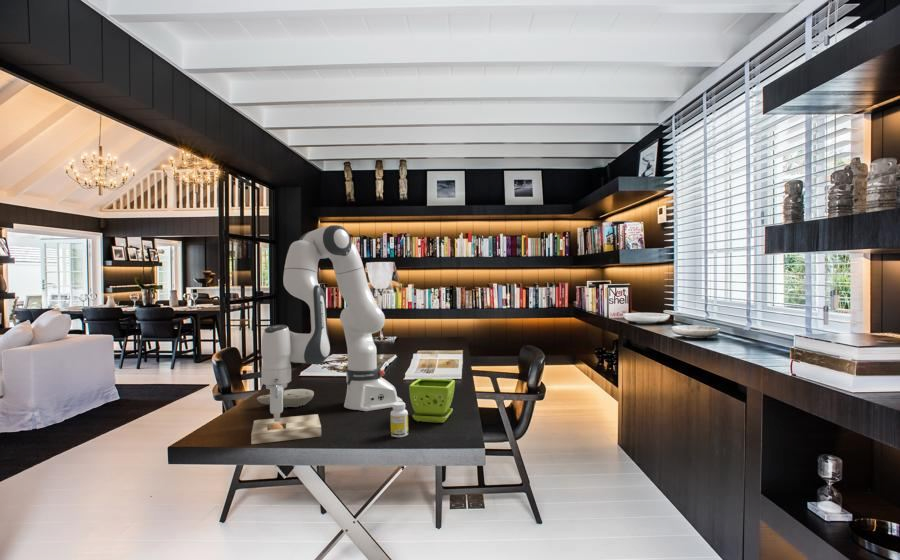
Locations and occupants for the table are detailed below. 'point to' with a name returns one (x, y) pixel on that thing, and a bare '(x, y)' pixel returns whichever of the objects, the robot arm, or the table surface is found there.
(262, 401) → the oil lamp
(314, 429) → the hole board
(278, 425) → the ball
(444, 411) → the flower pot
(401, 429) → the supplement bottle
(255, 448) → the table surface
